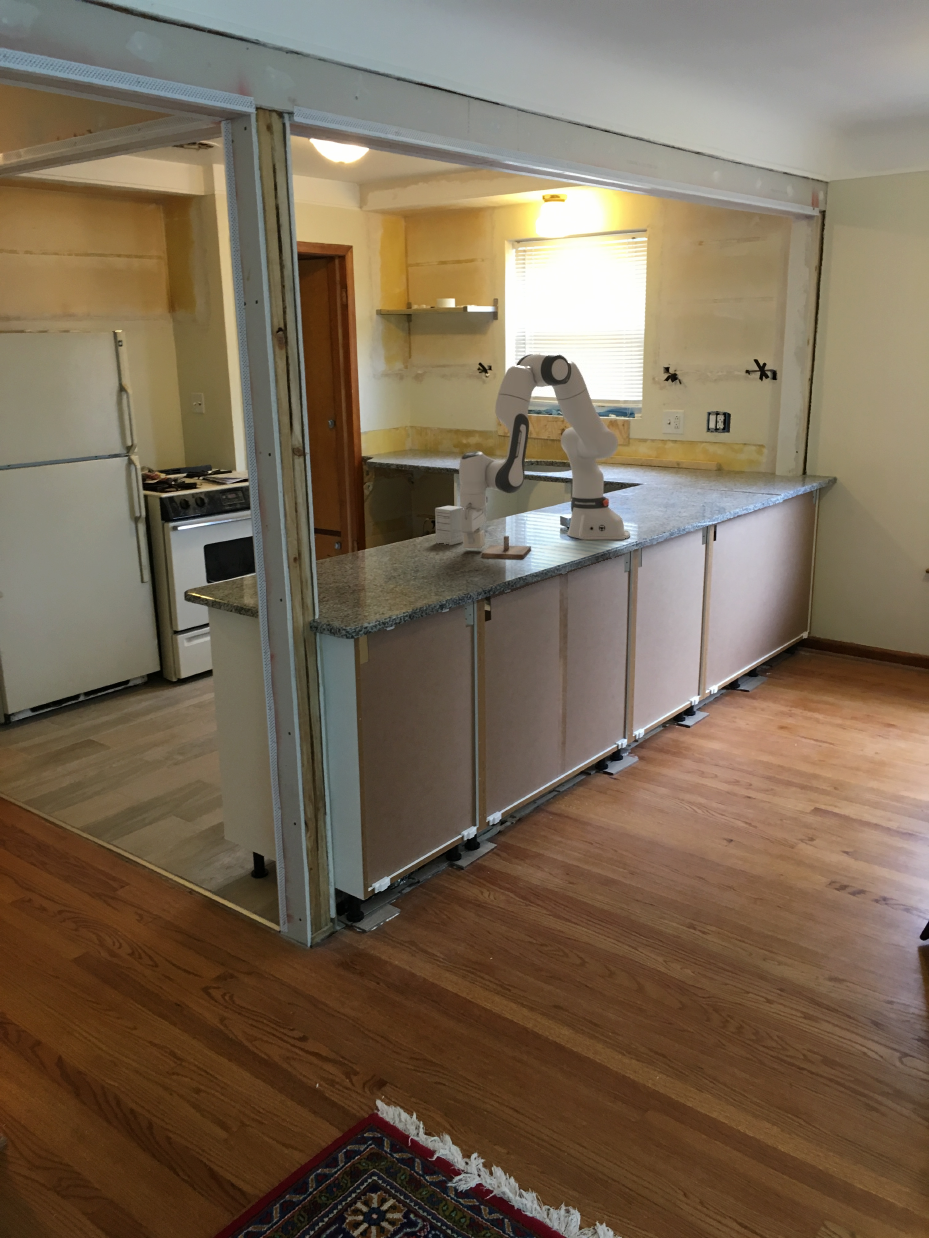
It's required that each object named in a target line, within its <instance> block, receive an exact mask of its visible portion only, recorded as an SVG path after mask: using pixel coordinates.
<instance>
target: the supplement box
mask: <svg viewBox="0 0 929 1238" xmlns="http://www.w3.org/2000/svg"><path fill="white" fill-rule="evenodd" d="M463 510H464V508H463V507H460V506H454V505H445V506H441V507H435V508H434V513H435V514H434V515H435V543H436V544H439V543H444V544H443V545H446V544H449V546H453V545H456V544H460V543H463V533H462V530H461V517H462V511H463Z"/></svg>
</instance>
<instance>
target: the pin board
mask: <svg viewBox="0 0 929 1238" xmlns="http://www.w3.org/2000/svg"><path fill="white" fill-rule="evenodd" d="M531 551H532V546H530V545H529V546H528V545H510V536H509V535H503V545H502V544H490V545H488V546H487V547H486V548H485V549H484V550H482V552H481V554H480V557H481V558H482V557H483V558H484V559H489V558H490V559H508V560H509V559H512V560H524V559H525V558H526V556H527V555H528V554H529V553H530V552H531ZM483 558H482V559H483Z"/></svg>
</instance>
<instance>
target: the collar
mask: <svg viewBox="0 0 929 1238" xmlns="http://www.w3.org/2000/svg"><path fill="white" fill-rule="evenodd" d="M473 535H474V543H473V544H469V543H468V537H467V533H463V542H462V543H463V545H462V548H463V549H482V548H483V547H484V546H485V545H486V542H485V541H486V540H485V539H486V537H485V535H486V534H485V529H483V530H481V529H480V530H475V531H474V534H473Z"/></svg>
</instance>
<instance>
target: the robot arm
mask: <svg viewBox="0 0 929 1238" xmlns="http://www.w3.org/2000/svg"><path fill="white" fill-rule="evenodd" d="M550 386H551V387H552V388H553V391H554V395H555V399H556V400H557V403H558V406H559V409H560V412H561V414H562V417H563V419H564V421H565V422H567V423H568V424H569V425H570V426H571V427H568V428H566V429H565V430H564V431H563V432H562V434H561V437H560V446H561V448H562V449H563V451H564V452H565V454H566V456H567V458H568V461H569V465H570V470H571V474H572V477H571V478H572V496H571V499H570V511H571V516H570V524H569V528H568V532H567V536H569V537H571V538H577V539H579V540H586V541H587V540H591V541H593V540H598V541H599V540H601V541H602V540H603V541H604V540H626V539H628V538H630V536H631V533H630V531H628V530H626V529H625V526H624V525H625V523H624V521H623V519H622V517H621V515H619V514H618V513H616V512H615V511H614V510H612V508H611V507H609V506H610V504H609V503H610V500H609V497H606V496H604V485H605V482H604V481H605V479H604V477H605V476H604V473H603V472H602V470H601V469H600V467H599V465H598V462H597V460H598V461H599V460H604V459H609V458H612V456H614V455H615V454H616V452H617V450H618V447H619V441H618V437H617V435H616V434H615V433H614V432H613V431H611V430H610V429H609V427H608V426H607V425H606V424H605V423H604V420H602V418H601V417H600V415H599V413H598V412H597V410H596V408H595V406H594V404H593V401H592V399H591V396H590V393H589V389H588V387H587V385H586V381H585V380H584V377H583V374H582V372H581V370H580V369H579V367H578V366H577V364H576V363H575V362H574V361H571V360H568V359H567V358H566V357H565V356H563V355H562V354H559V353H555V352H551V353H550V352H539V353H535V354H532V353H531V354H530V353H529V354H527V355H523V357H521V358H519V360H518V361H517V363H516V365H513V366H510V367H509V368H508V369H507V370H506V372H505V375H504V376H503V379H502V381H501V384H500V387H499V390H498V393H497V397H496V401H495V406H494V408H495V409H494V410H495V411H494V413H495V415H496V418H497V419H498V421H499V422H500V423H501V424H502V425H504V426H505V428H506V429H507V431H508V434H509V440H508V446H507V454H506V458H505V459H504V461H503V460H497V459H494V458H491V457H489V456H487V455H485V454H484V453H483V452H482V451H477V450H476V451H469V452H466V453H464V454H462V456H461V458H460V460H459V467H458V468H459V469H458V470H459V471H458V474H459V475H458V476H459V477H458V478H459V483H460V487H459V488H460V489H459V507H463V511H462V517H461V530H462V533H467V537H468V543H469V544H473V543H474V535H473V534H474V531H475V530H481V529H482V528H481V526H482V525H484V524H485V522H486V519H487V504H488V501H489V499H488V498H489V497H488V496H487V488H488V489H492V490H496V491H501V492H503V493H506V494H513V493H516V492H517V491H519V490H520V489H521V487H522V486H523V485H524V482H525V476H526V475H525V462H526V461H525V459H526V454H527V453H526V452H527V449H528V448H527V447H528V441H529V435H530V434H529V432H530V420H529V417H528V415H529V413H528V412H529V407H530V403H531V400H532V394H533V391H534V389H535V388H536V387H538V388H539V387H540V388H543V387H550ZM625 538H626V539H625Z"/></svg>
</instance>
